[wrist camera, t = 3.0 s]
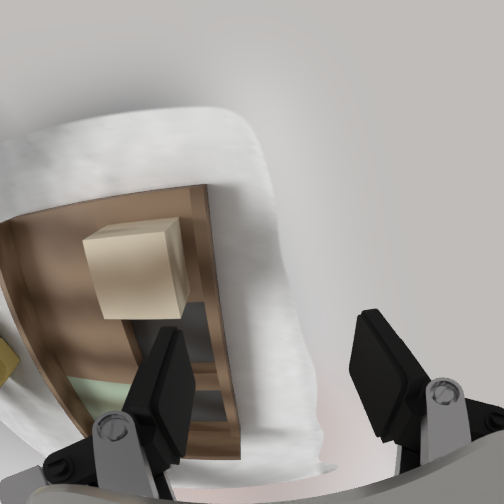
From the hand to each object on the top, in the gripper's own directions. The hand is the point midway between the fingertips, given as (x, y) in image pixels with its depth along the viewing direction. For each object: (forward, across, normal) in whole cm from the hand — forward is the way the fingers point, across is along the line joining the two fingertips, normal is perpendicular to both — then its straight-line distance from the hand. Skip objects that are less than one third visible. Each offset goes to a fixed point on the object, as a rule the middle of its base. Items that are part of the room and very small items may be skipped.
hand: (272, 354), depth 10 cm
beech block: (+12, +8, 0) cm, 14 cm away
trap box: (+14, +14, +10) cm, 22 cm away
